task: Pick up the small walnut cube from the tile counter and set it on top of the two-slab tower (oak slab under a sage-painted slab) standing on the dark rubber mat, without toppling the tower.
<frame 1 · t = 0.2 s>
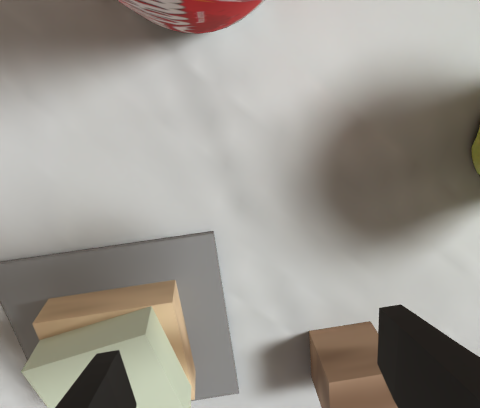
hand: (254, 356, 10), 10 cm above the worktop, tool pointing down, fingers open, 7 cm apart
sage slab: (119, 364, 19), point 2 cm above the worktop, touching oak slab
mat: (128, 334, 21), on the worktop
oak slab: (127, 337, 21), resting on mat, touching sage slab
walnut block: (339, 348, 23), on the worktop
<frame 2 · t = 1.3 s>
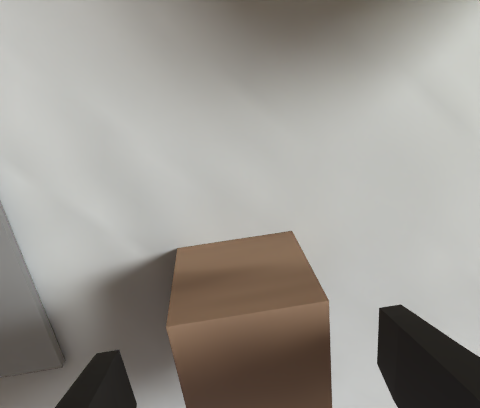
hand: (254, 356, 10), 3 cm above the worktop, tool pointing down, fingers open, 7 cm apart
walnut block: (241, 286, 13), on the worktop
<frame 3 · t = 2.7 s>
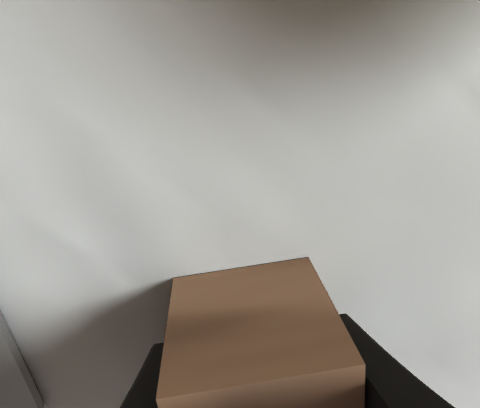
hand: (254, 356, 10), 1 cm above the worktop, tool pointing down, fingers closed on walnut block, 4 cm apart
walnut block: (248, 321, 11), on the worktop, touching gripper
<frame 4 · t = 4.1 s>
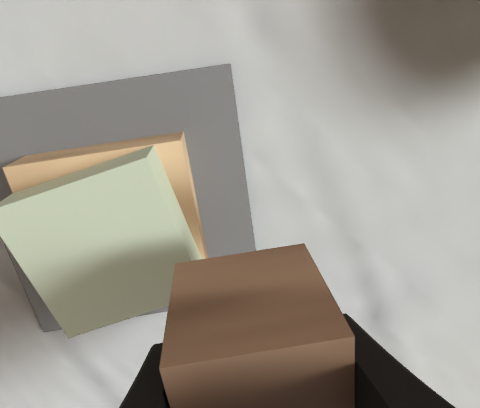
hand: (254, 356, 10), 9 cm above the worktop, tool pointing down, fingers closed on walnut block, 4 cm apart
sage slab: (115, 232, 15), point 2 cm above the worktop, touching oak slab
mat: (126, 211, 17), on the worktop
oak slab: (125, 214, 17), resting on mat, touching sage slab
walnut block: (247, 306, 12), point 7 cm above the worktop, touching gripper
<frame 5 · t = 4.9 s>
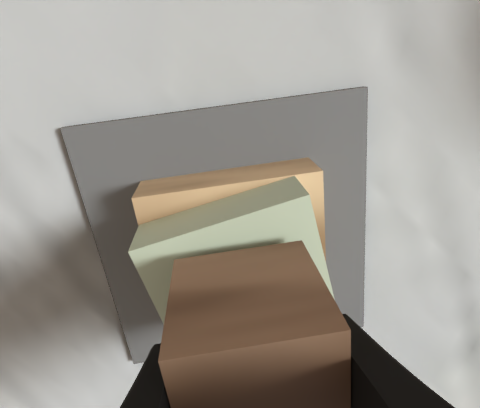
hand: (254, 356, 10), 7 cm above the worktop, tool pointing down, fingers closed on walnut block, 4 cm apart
sage slab: (239, 266, 14), point 2 cm above the worktop, touching oak slab
mat: (235, 240, 16), on the worktop
oak slab: (235, 243, 16), resting on mat, touching sage slab
walnut block: (245, 302, 12), point 5 cm above the worktop, touching gripper
when the fingers open (7 cm above the worktop, at t = 5.7 s): walnut block stays where it is, resting on sage slab.
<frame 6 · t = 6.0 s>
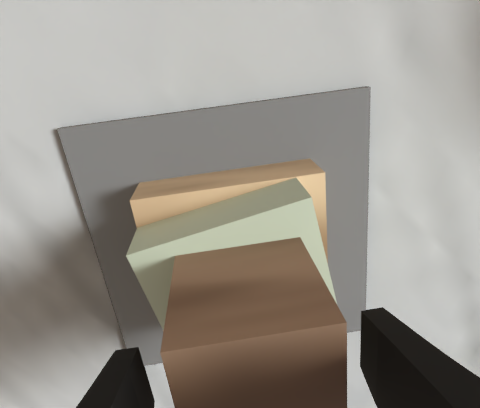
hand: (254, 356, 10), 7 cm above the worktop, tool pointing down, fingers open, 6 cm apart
sage slab: (240, 269, 14), point 2 cm above the worktop, touching oak slab, walnut block
mat: (235, 242, 16), on the worktop
oak slab: (236, 245, 16), resting on mat, touching sage slab
walnut block: (245, 297, 12), point 4 cm above the worktop, touching sage slab
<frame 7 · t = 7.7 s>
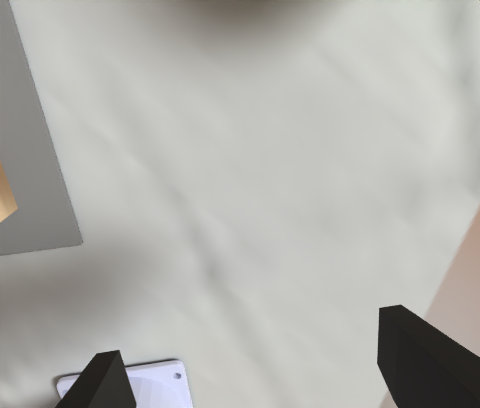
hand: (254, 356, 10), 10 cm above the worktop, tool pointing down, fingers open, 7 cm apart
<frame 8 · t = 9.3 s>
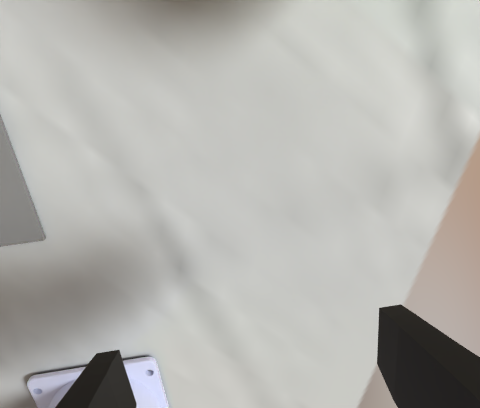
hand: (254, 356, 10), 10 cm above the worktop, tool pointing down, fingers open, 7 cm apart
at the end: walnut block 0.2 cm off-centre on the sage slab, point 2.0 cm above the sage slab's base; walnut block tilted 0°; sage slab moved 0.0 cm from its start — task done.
